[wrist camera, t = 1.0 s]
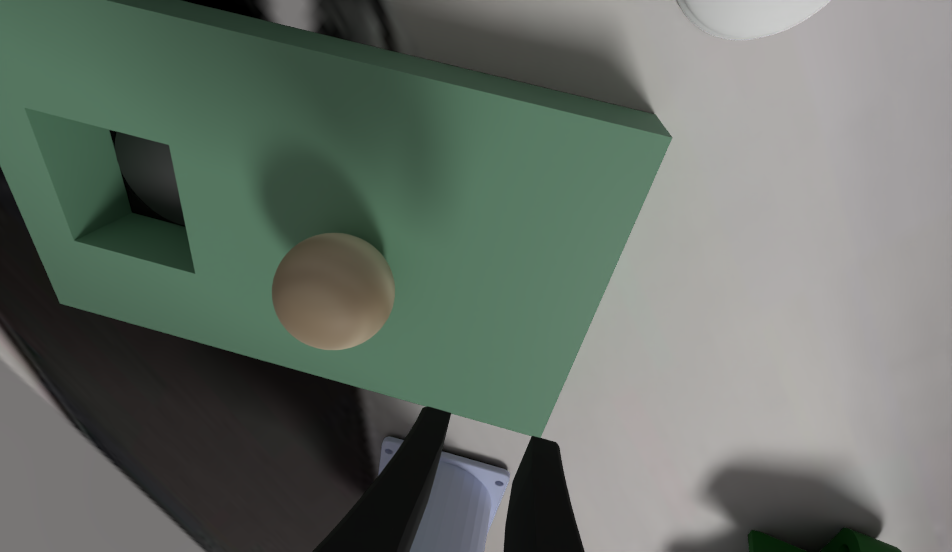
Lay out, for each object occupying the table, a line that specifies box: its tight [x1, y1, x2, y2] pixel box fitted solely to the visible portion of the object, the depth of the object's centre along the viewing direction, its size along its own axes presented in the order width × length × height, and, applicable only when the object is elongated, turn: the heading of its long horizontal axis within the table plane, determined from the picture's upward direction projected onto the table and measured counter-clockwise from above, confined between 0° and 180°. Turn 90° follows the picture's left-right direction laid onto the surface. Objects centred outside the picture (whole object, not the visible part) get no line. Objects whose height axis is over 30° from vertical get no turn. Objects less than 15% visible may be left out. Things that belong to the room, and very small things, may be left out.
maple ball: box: [272, 233, 395, 350], centre depth 15 cm, size 4×4×4 cm
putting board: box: [0, 0, 672, 438], centre depth 18 cm, size 24×14×3 cm, turn 79°
